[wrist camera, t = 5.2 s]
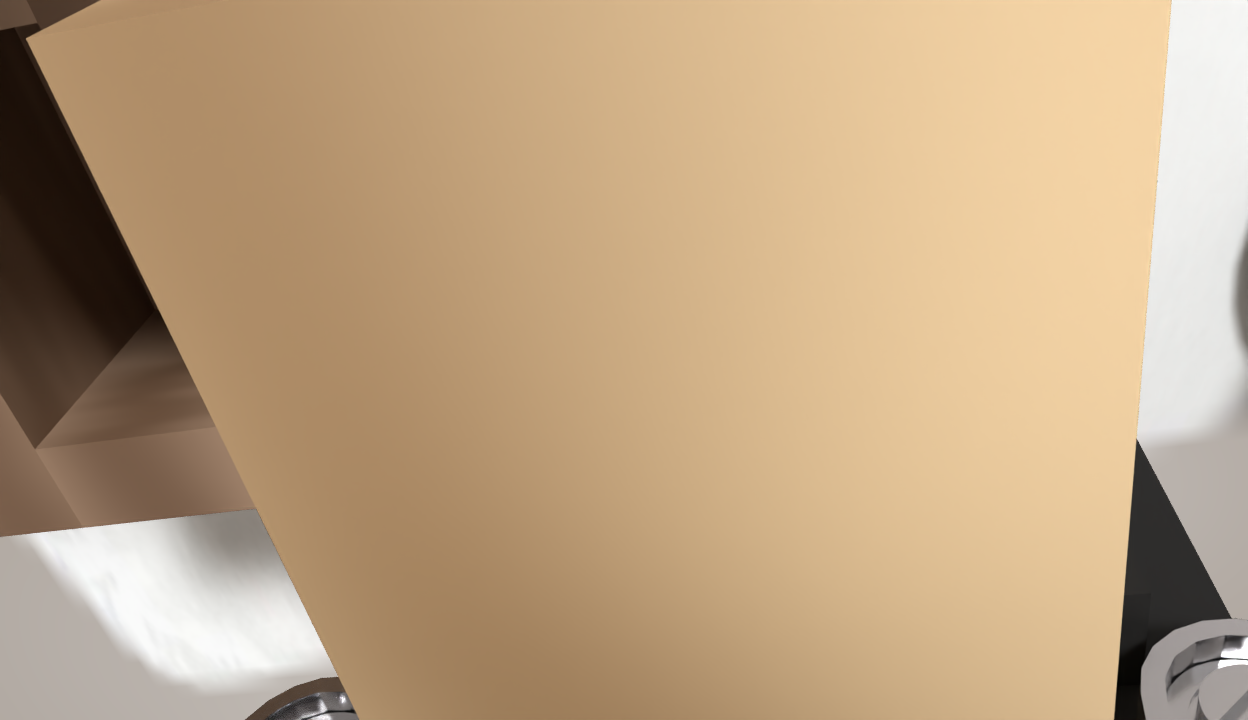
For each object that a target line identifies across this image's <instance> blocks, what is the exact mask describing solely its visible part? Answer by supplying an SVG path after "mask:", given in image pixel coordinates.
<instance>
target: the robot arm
mask: <svg viewBox="0 0 1248 720" xmlns="http://www.w3.org/2000/svg"><path fill="white" fill-rule="evenodd" d="M245 720H359V718H358V715H357V713H356V711H355V709H354V707H353V705H352V703H351V701H350V699H349V697H348V695H347V693H346V691H345V689H344V687H343V685H342V683H341V681H340V679H339V677H332V678H331V677H330V678H320V679H317V680H314V681H311V682H307V683H304V684H300V685H297V686H294V687H293V688H291V689H289V690H287V691H285V692H284V693H281V694H280V695H278V696H276V697H274V698H272V699H270V700H269V701H267V702H266V703H265V704H264V705H262V706H261V707H260V708H259V709H258V710H256V711H255V712H254V713H253V714H252V715H250V716H249V717H248V718H247V719H245ZM1114 720H1248V620H1244V619H1237V618H1235V619H1232V618H1231V617H1230V615H1229V613H1228V611H1227V609H1226V607H1225V605H1224V603H1223V601H1222V599H1221V598H1220V596H1219V594H1218V592H1217V590H1216V588H1215V586H1214V584H1213V582H1212V580H1211V579H1210V577H1209V575H1208V573H1207V571H1206V569H1205V567H1204V565H1203V563H1202V561H1201V560H1200V558H1199V556H1198V554H1197V552H1196V550H1195V548H1194V546H1193V545H1192V543H1191V541H1190V539H1189V537H1188V535H1187V533H1186V531H1185V529H1184V527H1183V526H1182V524H1181V522H1180V520H1179V518H1178V516H1177V514H1176V512H1175V510H1174V508H1173V507H1172V505H1171V503H1170V501H1169V499H1168V497H1167V495H1166V493H1165V492H1164V490H1163V488H1162V486H1161V484H1160V482H1159V480H1158V478H1157V476H1156V474H1155V472H1154V471H1153V469H1152V467H1151V465H1150V463H1149V461H1148V459H1147V457H1146V455H1145V454H1144V452H1143V450H1142V448H1141V446H1140V444H1139V442H1138V440H1137V438H1136V450H1135V462H1134V475H1133V487H1132V500H1131V512H1130V525H1129V537H1128V550H1127V562H1126V575H1125V587H1124V600H1123V612H1122V625H1121V637H1120V650H1119V662H1118V674H1117V687H1116V699H1115V712H1114Z"/></svg>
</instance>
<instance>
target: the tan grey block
mask: <svg viewBox="0 0 1248 720" xmlns="http://www.w3.org/2000/svg"><path fill="white" fill-rule="evenodd" d="M1171 1H1172V0H100V1H98V2H96V3H94V4H92V5H90V6H88V7H86V8H84V9H83V10H81V11H79V12H77V13H75V14H73V15H71V16H69V17H67V18H65V19H63V20H61V21H59V22H57V23H55V24H53V25H51V26H49V27H47V28H45V29H43V30H41V31H39V32H37V33H36V34H34V35H32V36H30V37H28V38H26V40H27V42H28V44H29V46H30V48H31V50H32V52H33V54H34V56H35V58H36V60H37V62H38V64H39V66H40V68H41V70H42V72H43V75H44V77H45V79H46V81H47V83H48V85H49V87H50V89H51V91H52V93H53V95H54V97H55V99H56V101H57V103H58V105H59V107H60V109H61V111H62V113H63V115H64V117H65V119H66V121H67V123H68V126H69V128H70V130H71V132H72V134H73V136H74V138H75V140H76V142H77V144H78V146H79V148H80V150H81V152H82V154H83V156H84V158H85V160H86V162H87V164H88V166H89V168H90V170H91V172H92V175H93V177H94V179H95V181H96V183H97V185H98V187H99V189H100V191H101V193H102V195H103V197H104V199H105V201H106V203H107V205H108V207H109V209H110V211H111V213H112V215H113V217H114V219H115V221H116V224H117V226H118V228H119V230H120V232H121V234H122V236H123V238H124V240H125V242H126V244H127V246H128V248H129V250H130V252H131V254H132V256H133V258H134V260H135V262H136V264H137V266H138V268H139V270H140V273H141V275H142V277H143V279H144V281H145V283H146V285H147V287H148V289H149V291H150V293H151V295H152V297H153V299H154V301H155V303H156V305H157V307H158V309H159V311H160V313H161V315H162V317H163V319H164V322H165V324H166V326H167V328H168V330H169V332H170V334H171V336H172V338H173V340H174V342H175V344H176V346H177V348H178V350H179V352H180V354H181V356H182V358H183V360H184V362H185V364H186V366H187V368H188V370H189V373H190V375H191V377H192V379H193V381H194V383H195V385H196V387H197V389H198V391H199V393H200V395H201V397H202V399H203V401H204V403H205V405H206V407H207V409H208V411H209V413H210V415H211V417H212V419H213V422H214V424H215V426H216V428H217V430H218V432H219V434H220V436H221V438H222V440H223V442H224V444H225V446H226V448H227V450H228V452H229V454H230V456H231V458H232V460H233V462H234V464H235V466H236V468H237V471H238V473H239V475H240V477H241V479H242V481H243V483H244V485H245V487H246V489H247V491H248V493H249V495H250V497H251V499H252V501H253V503H254V505H255V507H256V509H257V511H258V513H259V515H260V517H261V520H262V522H263V524H264V526H265V528H266V530H267V532H268V534H269V536H270V538H271V540H272V542H273V544H274V546H275V548H276V550H277V552H278V554H279V556H280V558H281V560H282V562H283V564H284V566H285V569H286V571H287V573H288V575H289V577H290V579H291V581H292V583H293V585H294V587H295V589H296V591H297V593H298V595H299V597H300V599H301V601H302V603H303V605H304V607H305V609H306V611H307V613H308V615H309V617H310V620H311V622H312V624H313V626H314V628H315V630H316V632H317V634H318V636H319V638H320V640H321V642H322V644H323V646H324V648H325V650H326V652H327V654H328V656H329V658H330V660H331V662H332V664H333V666H334V669H335V671H336V673H337V675H338V677H339V679H340V681H341V683H342V685H343V687H344V689H345V691H346V693H347V695H348V697H349V699H350V701H351V703H352V705H353V707H354V709H355V711H356V713H357V715H358V718H359V720H1114V712H1115V699H1116V687H1117V674H1118V662H1119V650H1120V637H1121V625H1122V612H1123V600H1124V587H1125V575H1126V562H1127V550H1128V537H1129V525H1130V512H1131V500H1132V487H1133V475H1134V462H1135V450H1136V438H1137V425H1138V413H1139V400H1140V388H1141V375H1142V363H1143V350H1144V338H1145V325H1146V313H1147V300H1148V288H1149V275H1150V263H1151V251H1152V238H1153V226H1154V213H1155V201H1156V188H1157V176H1158V163H1159V151H1160V138H1161V126H1162V113H1163V101H1164V88H1165V76H1166V63H1167V51H1168V39H1169V26H1170V14H1171Z"/></svg>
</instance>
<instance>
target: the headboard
mask: <svg viewBox="0 0 1248 720" xmlns="http://www.w3.org/2000/svg"><path fill="white" fill-rule="evenodd" d="M98 1H100V0H0V537H2V536H12V535H21V534H30V533H40V532H49V531H58V530H67V529H76V528H85V527H94V526H103V525H112V524H121V523H130V522H139V521H148V520H157V519H167V518H176V517H185V516H194V515H203V514H212V513H221V512H230V511H239V510H248V509H256V507H255V505H254V503H253V501H252V499H251V497H250V495H249V493H248V491H247V489H246V487H245V485H244V483H243V481H242V479H241V477H240V475H239V473H238V471H237V468H236V466H235V464H234V462H233V460H232V458H231V456H230V454H229V452H228V450H227V448H226V446H225V444H224V442H223V440H222V438H221V436H220V434H219V432H218V430H217V428H216V426H215V424H214V422H213V419H212V417H211V415H210V413H209V411H208V409H207V407H206V405H205V403H204V401H203V399H202V397H201V395H200V393H199V391H198V389H197V387H196V385H195V383H194V381H193V379H192V377H191V375H190V373H189V370H188V368H187V366H186V364H185V362H184V360H183V358H182V356H181V354H180V352H179V350H178V348H177V346H176V344H175V342H174V340H173V338H172V336H171V334H170V332H169V330H168V328H167V326H166V324H165V322H164V319H163V317H162V315H161V313H160V311H159V309H158V307H157V305H156V303H155V301H154V299H153V297H152V295H151V293H150V291H149V289H148V287H147V285H146V283H145V281H144V279H143V277H142V275H141V273H140V270H139V268H138V266H137V264H136V262H135V260H134V258H133V256H132V254H131V252H130V250H129V248H128V246H127V244H126V242H125V240H124V238H123V236H122V234H121V232H120V230H119V228H118V226H117V224H116V221H115V219H114V217H113V215H112V213H111V211H110V209H109V207H108V205H107V203H106V201H105V199H104V197H103V195H102V193H101V191H100V189H99V187H98V185H97V183H96V181H95V179H94V177H93V175H92V172H91V170H90V168H89V166H88V164H87V162H86V160H85V158H84V156H83V154H82V152H81V150H80V148H79V146H78V144H77V142H76V140H75V138H74V136H73V134H72V132H71V130H70V128H69V126H68V123H67V121H66V119H65V117H64V115H63V113H62V111H61V109H60V107H59V105H58V103H57V101H56V99H55V97H54V95H53V93H52V91H51V89H50V87H49V85H48V83H47V81H46V79H45V77H44V75H43V72H42V70H41V68H40V66H39V64H38V62H37V60H36V58H35V56H34V54H33V52H32V50H31V48H30V46H29V44H28V42H27V40H26V38H28V37H30V36H32V35H34V34H36V33H37V32H39V31H41V30H43V29H45V28H47V27H49V26H51V25H53V24H55V23H57V22H59V21H61V20H63V19H65V18H67V17H69V16H71V15H73V14H75V13H77V12H79V11H81V10H83V9H84V8H86V7H88V6H90V5H92V4H94V3H96V2H98Z"/></svg>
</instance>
